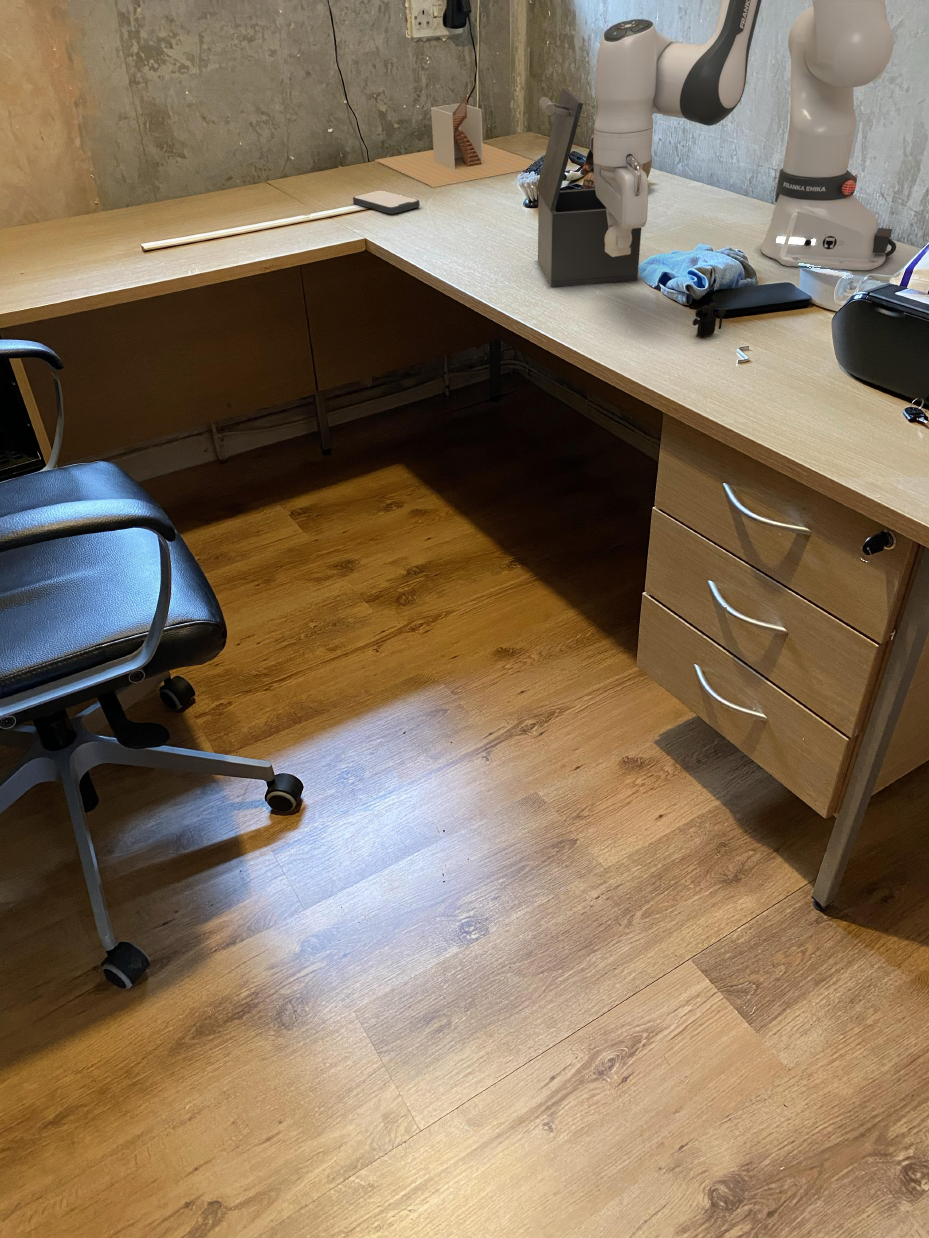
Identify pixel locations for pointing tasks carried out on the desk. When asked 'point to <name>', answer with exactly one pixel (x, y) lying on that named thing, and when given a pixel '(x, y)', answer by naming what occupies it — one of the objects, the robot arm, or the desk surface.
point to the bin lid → (558, 144)
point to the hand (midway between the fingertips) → (618, 241)
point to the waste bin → (581, 242)
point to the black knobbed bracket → (707, 320)
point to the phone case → (386, 202)
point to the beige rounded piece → (611, 243)
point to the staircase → (456, 150)
